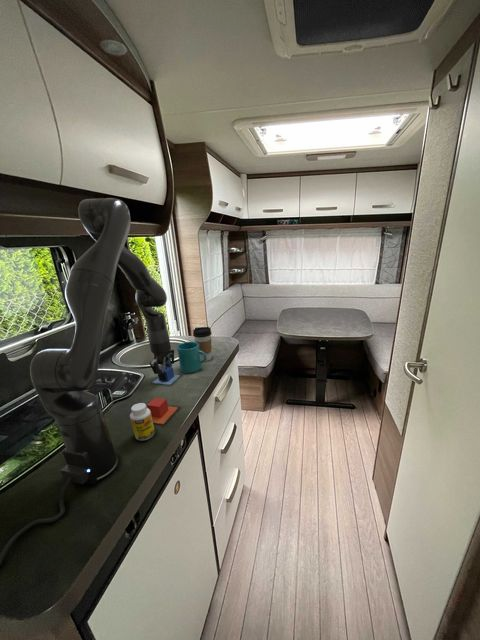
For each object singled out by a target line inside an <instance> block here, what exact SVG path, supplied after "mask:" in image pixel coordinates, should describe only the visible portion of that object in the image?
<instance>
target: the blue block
mask: <svg viewBox="0 0 480 640" xmlns="http://www.w3.org/2000/svg"><path fill="white" fill-rule="evenodd" d="M160 370H161V368H160ZM164 373H165V379H166V381H168V382H169V381H170V380H171V379H172V378H173V377H174V374H175V373H174V368H173V366H172V367H166V366H165V368H164ZM157 378H159V374H157ZM159 381H160V379H159Z"/></svg>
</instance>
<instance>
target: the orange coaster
mask: <svg viewBox="0 0 480 640" xmlns="http://www.w3.org/2000/svg"><path fill="white" fill-rule="evenodd" d="M168 409H169V410H168V411H167V412H166V413H165V415H164V416H163V417H162V418H158V417H152V421H153V424H157V425H165V424H166V422H167V421H168V420H170V418H171V417H172V416H173V415H174V414H175V412H177V410H178V409H179V407H177V406H170V405H168Z"/></svg>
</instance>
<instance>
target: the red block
mask: <svg viewBox="0 0 480 640" xmlns="http://www.w3.org/2000/svg"><path fill="white" fill-rule="evenodd" d="M168 406H169V405H168V399H167V398H161V397H154V398H153V399H152V400H151V401H149V403H147V404H146V407H147V408H148V409H149V410H150V412H151V416H152V417H158V418H162V417H163V416H164V415H165V413H166V412H167V411H168V410H169V409H168Z"/></svg>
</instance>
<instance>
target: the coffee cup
mask: <svg viewBox="0 0 480 640" xmlns="http://www.w3.org/2000/svg"><path fill="white" fill-rule="evenodd" d="M192 336H193V338H194V342H196V343H198V344H199V350H201V351H203V352H204V353H205V354H206V357H207V358H206V361H205V362H208V361H210V360H212V329H211V327H210V326H202V327H197V328H196V327H195V328H194V329H193V330H192ZM200 359H201V361H202V360H204V355H203V354H201V353H200Z"/></svg>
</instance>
